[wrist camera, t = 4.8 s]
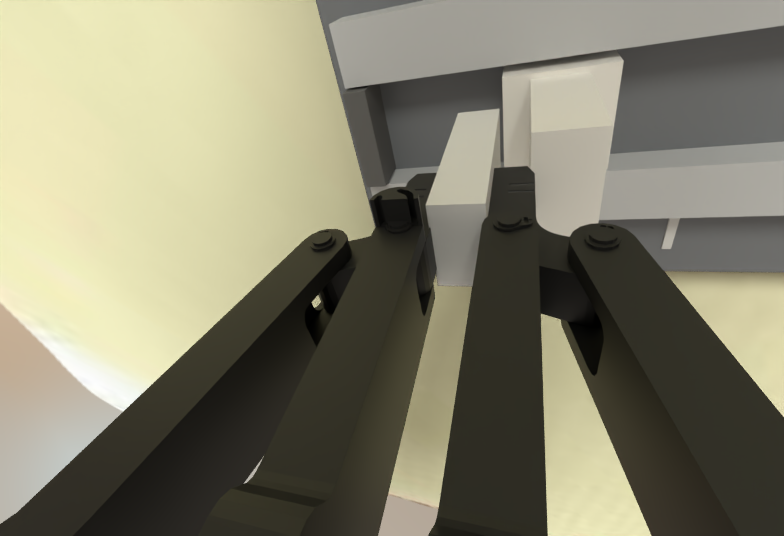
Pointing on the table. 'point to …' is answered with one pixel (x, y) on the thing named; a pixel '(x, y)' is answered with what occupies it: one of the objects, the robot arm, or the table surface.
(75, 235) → the table surface
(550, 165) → the fader tab
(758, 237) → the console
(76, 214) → the table surface
